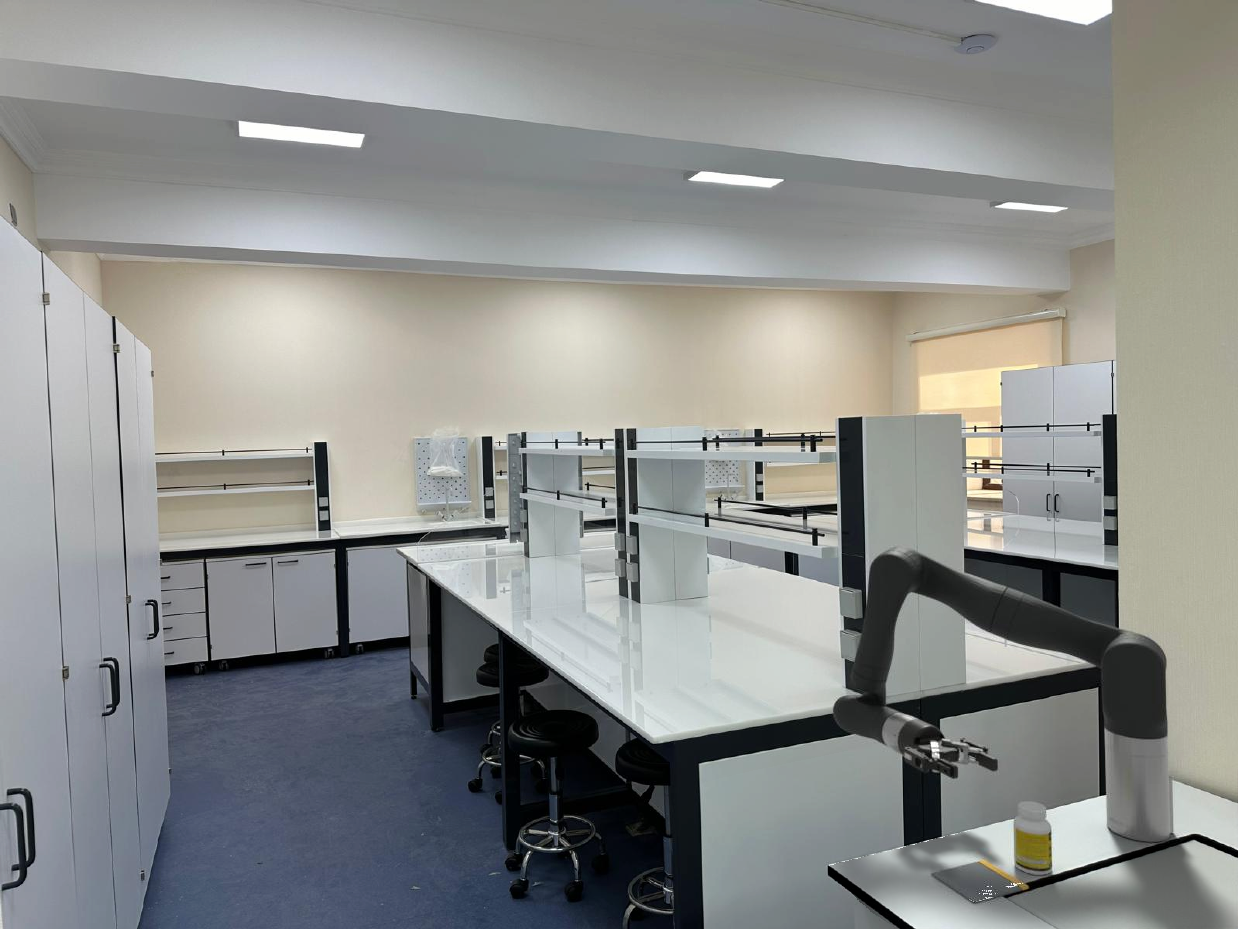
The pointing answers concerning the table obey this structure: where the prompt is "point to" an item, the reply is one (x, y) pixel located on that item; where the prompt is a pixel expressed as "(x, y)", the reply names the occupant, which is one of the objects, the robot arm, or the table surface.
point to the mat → (979, 880)
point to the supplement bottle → (1032, 839)
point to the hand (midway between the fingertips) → (976, 769)
